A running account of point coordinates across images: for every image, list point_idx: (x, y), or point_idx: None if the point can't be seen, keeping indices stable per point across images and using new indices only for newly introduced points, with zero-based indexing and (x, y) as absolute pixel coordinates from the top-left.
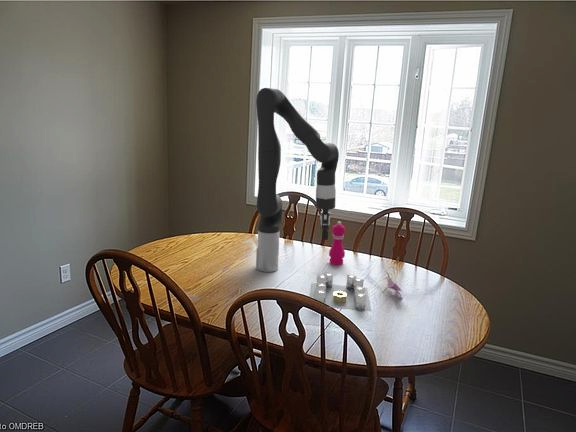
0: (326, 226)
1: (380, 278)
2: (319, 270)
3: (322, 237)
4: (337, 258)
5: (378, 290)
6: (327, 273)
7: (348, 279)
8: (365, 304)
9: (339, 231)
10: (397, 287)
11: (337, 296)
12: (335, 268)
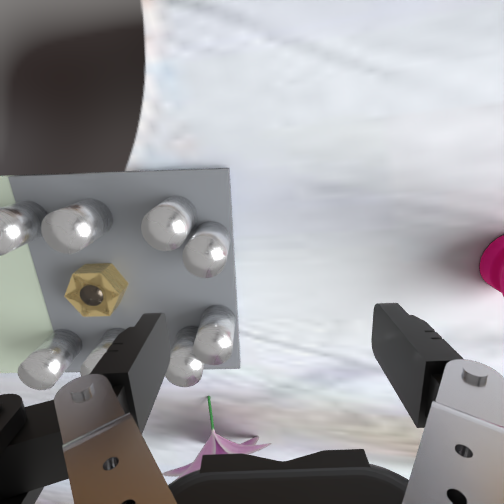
0: (409, 392)
1: (352, 404)
2: (409, 190)
3: (138, 324)
4: (500, 277)
5: (247, 392)
6: (214, 252)
7: (198, 332)
8: None
9: None
10: (189, 466)
11: (67, 287)
12: (439, 258)
